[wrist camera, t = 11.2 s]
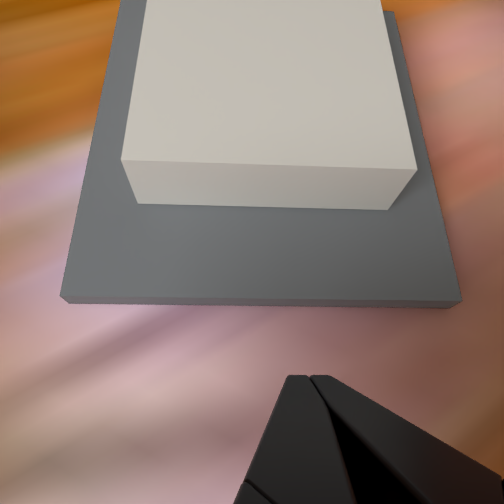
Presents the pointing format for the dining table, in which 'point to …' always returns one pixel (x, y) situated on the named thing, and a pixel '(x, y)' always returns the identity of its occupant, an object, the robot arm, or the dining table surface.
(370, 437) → the robot arm
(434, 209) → the slate board
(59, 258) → the dining table surface
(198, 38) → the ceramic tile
